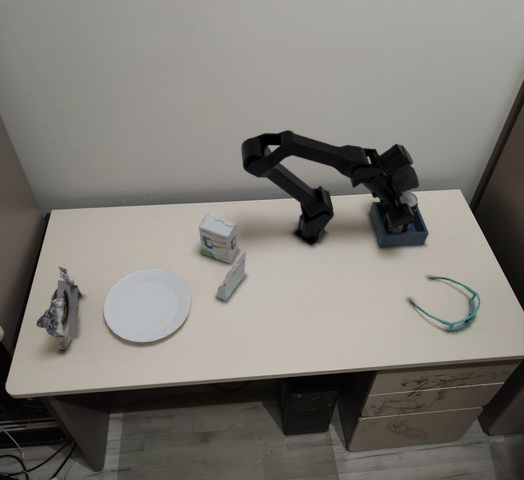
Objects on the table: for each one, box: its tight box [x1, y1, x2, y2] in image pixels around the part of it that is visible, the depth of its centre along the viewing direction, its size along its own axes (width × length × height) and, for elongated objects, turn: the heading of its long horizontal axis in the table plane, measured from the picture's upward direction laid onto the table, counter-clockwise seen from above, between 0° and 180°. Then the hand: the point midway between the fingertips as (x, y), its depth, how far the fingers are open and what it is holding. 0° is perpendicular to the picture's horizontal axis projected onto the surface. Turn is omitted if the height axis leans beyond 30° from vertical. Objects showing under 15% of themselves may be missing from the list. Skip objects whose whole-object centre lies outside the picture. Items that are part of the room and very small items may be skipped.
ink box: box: [198, 213, 238, 264], centre depth 127 cm, size 9×5×12 cm, turn 68°
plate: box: [103, 267, 192, 343], centre depth 119 cm, size 21×21×2 cm
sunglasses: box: [409, 276, 481, 332], centre depth 123 cm, size 14×15×5 cm
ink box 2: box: [217, 250, 247, 302], centre depth 121 cm, size 3×9×12 cm, turn 150°
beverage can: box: [385, 190, 419, 233], centre depth 135 cm, size 7×7×12 cm
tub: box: [368, 201, 430, 248], centre depth 138 cm, size 13×13×5 cm
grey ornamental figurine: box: [36, 266, 83, 353], centre depth 112 cm, size 15×4×13 cm, turn 4°
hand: (407, 209), depth 134 cm, fingers open, 9 cm apart
